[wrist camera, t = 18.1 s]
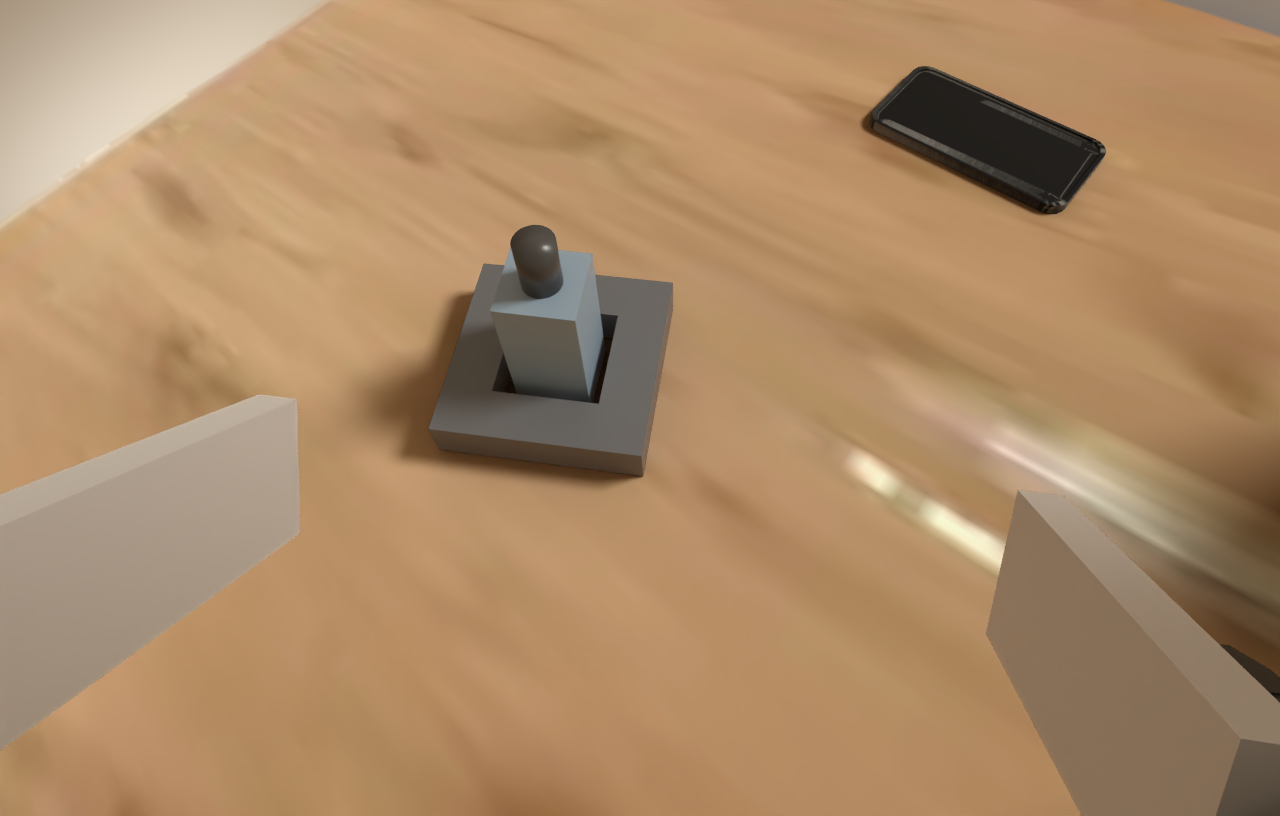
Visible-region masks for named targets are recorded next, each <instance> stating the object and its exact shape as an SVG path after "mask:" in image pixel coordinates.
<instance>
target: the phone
mask: <svg viewBox="0 0 1280 816" xmlns="http://www.w3.org/2000/svg"><path fill="white" fill-rule="evenodd" d="M870 125H871V127H872V128H873V130H875V131H876V132H878V133H880V134H882V135H884V136H886V137H888V138H890V139H892V140H894V141H896V142H899V143H901V144H903V145H905V146H907V147H909V148H911V149H913V150H915V151H917V152H919V153H921V154H923V155H925V156H927V157H929V158H931V159H934V160H936V161H938V162H940V163H942V164H944V165H946V166H948V167H950V168H952V169H954V170H956V171H958V172H960V173H962V174H964V175H966V176H969V177H971V178H973V179H975V180H977V181H979V182H981V183H983V184H985V185H987V186H989V187H991V188H993V189H995V190H997V191H999V192H1001V193H1004V194H1006V195H1008V196H1010V197H1012V198H1014V199H1016V200H1018V201H1020V202H1022V203H1024V204H1026V205H1028V206H1030V207H1032V208H1034V209H1036V210H1039V211H1041V212H1043V213H1047V214H1057V213H1059V212H1062V211H1063V210H1064V209H1065V208H1066V206H1067V205H1068V204H1069V203H1070V201H1071V200H1072V199H1073V197H1074V196H1075V195H1076V194H1077V192H1078V191H1079V190H1080V188H1081V187H1082V186H1083V185H1084V183H1085V182H1086V181H1087V179H1088V178H1089V177H1090V176H1091V174H1092V173H1093V172H1094V170H1095V169H1096V168H1097V167H1098V165H1099V164H1100V162H1101V161H1102V159H1103V157H1104V156H1105V153H1106V149H1105V147H1104V145H1103V144H1102V143H1101V142H1099V141H1097V140H1096V139H1094V138H1091V137H1089V136H1087V135H1084V134H1082V133H1080V132H1078V131H1075V130H1073V129H1071V128H1069V127H1066V126H1064V125H1062V124H1060V123H1057V122H1055V121H1053V120H1050V119H1048V118H1046V117H1044V116H1041V115H1039V114H1037V113H1035V112H1032V111H1030V110H1028V109H1026V108H1023V107H1021V106H1019V105H1017V104H1014V103H1012V102H1010V101H1008V100H1005V99H1003V98H1001V97H999V96H996V95H994V94H992V93H990V92H987V91H985V90H983V89H980V88H978V87H976V86H974V85H971V84H969V83H967V82H965V81H962V80H960V79H958V78H956V77H953V76H951V75H949V74H947V73H944V72H942V71H940V70H938V69H935V68H933V67H928V66H922V67H918V68H916V69H914V70H913V71H912V72H911V73H910V74H909V75H908V76H907V77H906V78H905V79H904V80H903V81H902V82H901V83H900V84H899V85H898V86H897V87H896V88H895V89H894V90H893V91H892V92H891V93H890V94H889V95H888V96H887V97H886V98H885V99H884V100H883V101H882V102H881V103H880V104H879V105H878V106H877V107H876V108H875V109H874V110H873V112H872V116H871V120H870Z"/></svg>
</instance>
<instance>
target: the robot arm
mask: <svg viewBox="0 0 1280 816" xmlns="http://www.w3.org/2000/svg"><path fill="white" fill-rule="evenodd" d="M299 534H300V509H299V469H298V429H297V399H292V398H284V397H276V396H268V395H260V394H259V395H256V396H253V397H251V398H248V399H246V400H243V401H241V402H238V403H235V404H233V405H230V406H228V407H225V408H222V409H220V410H217V411H215V412H212V413H210V414H207V415H204V416H202V417H199V418H197V419H194V420H191V421H189V422H186V423H184V424H181V425H179V426H176V427H173V428H171V429H168V430H166V431H163V432H160V433H158V434H155V435H153V436H150V437H148V438H145V439H142V440H140V441H137V442H135V443H132V444H129V445H127V446H124V447H122V448H119V449H117V450H114V451H111V452H109V453H106V454H104V455H101V456H98V457H96V458H93V459H91V460H88V461H86V462H83V463H80V464H78V465H75V466H73V467H70V468H67V469H65V470H62V471H60V472H57V473H55V474H52V475H49V476H47V477H44V478H42V479H39V480H36V481H34V482H31V483H29V484H26V485H23V486H21V487H18V488H16V489H13V490H11V491H8V492H5V493H3V494H0V750H2V749H3V748H5V747H6V746H7V745H9V744H10V743H12V742H13V741H14V740H16V739H17V738H18V737H20V736H21V735H23V734H24V733H25V732H27V731H28V730H29V729H31V728H32V727H34V726H35V725H36V724H38V723H39V722H40V721H42V720H43V719H45V718H46V717H47V716H49V715H50V714H52V713H53V712H54V711H56V710H57V709H58V708H60V707H61V706H63V705H64V704H65V703H67V702H68V701H69V700H71V699H72V698H74V697H75V696H76V695H78V694H79V693H81V692H82V691H83V690H85V689H86V688H87V687H89V686H90V685H92V684H93V683H94V682H96V681H97V680H98V679H100V678H101V677H103V676H104V675H105V674H107V673H108V672H109V671H111V670H112V669H114V668H115V667H116V666H118V665H119V664H121V663H122V662H123V661H125V660H126V659H127V658H129V657H130V656H132V655H133V654H134V653H136V652H137V651H138V650H140V649H141V648H143V647H144V646H145V645H147V644H148V643H150V642H151V641H152V640H154V639H155V638H156V637H158V636H159V635H161V634H162V633H163V632H165V631H166V630H167V629H169V628H170V627H172V626H173V625H174V624H176V623H177V622H178V621H180V620H181V619H183V618H184V617H185V616H187V615H188V614H190V613H191V612H192V611H194V610H195V609H196V608H198V607H199V606H201V605H202V604H203V603H205V602H206V601H207V600H209V599H210V598H212V597H213V596H214V595H216V594H217V593H218V592H220V591H221V590H223V589H224V588H225V587H227V586H228V585H230V584H231V583H232V582H234V581H235V580H236V579H238V578H239V577H241V576H242V575H243V574H245V573H246V572H247V571H249V570H250V569H252V568H253V567H254V566H256V565H257V564H259V563H260V562H261V561H263V560H264V559H265V558H267V557H268V556H270V555H271V554H272V553H274V552H275V551H276V550H278V549H279V548H281V547H282V546H283V545H285V544H286V543H287V542H289V541H290V540H292V539H293V538H294V537H296V536H297V535H299ZM986 635H987V637H988V638H989V640H990V642H991V644H992V646H993V648H994V650H995V652H996V654H997V656H998V657H999V659H1000V661H1001V663H1002V665H1003V667H1004V669H1005V671H1006V673H1007V675H1008V676H1009V678H1010V680H1011V682H1012V684H1013V686H1014V688H1015V690H1016V692H1017V694H1018V696H1019V697H1020V699H1021V701H1022V703H1023V705H1024V707H1025V709H1026V711H1027V713H1028V715H1029V716H1030V718H1031V720H1032V722H1033V724H1034V726H1035V728H1036V730H1037V732H1038V734H1039V736H1040V737H1041V739H1042V741H1043V743H1044V745H1045V747H1046V749H1047V751H1048V753H1049V755H1050V756H1051V758H1052V760H1053V762H1054V764H1055V766H1056V768H1057V770H1058V772H1059V774H1060V775H1061V777H1062V779H1063V781H1064V783H1065V785H1066V787H1067V789H1068V791H1069V793H1070V795H1071V796H1072V798H1073V800H1074V802H1075V804H1076V806H1077V808H1078V810H1079V812H1080V814H1081V815H1082V816H1280V678H1279V677H1278V676H1277V675H1276V674H1275V673H1274V672H1272V671H1271V670H1270V669H1268V668H1266V667H1265V666H1263V665H1261V664H1260V663H1258V662H1256V661H1255V660H1253V659H1251V658H1250V657H1248V656H1246V655H1245V654H1243V653H1241V652H1240V651H1238V650H1236V649H1235V648H1233V647H1231V646H1229V645H1222V644H1218V643H1217V642H1216V641H1215V640H1214V639H1213V638H1212V637H1211V636H1210V635H1209V634H1208V633H1207V632H1206V631H1205V630H1204V629H1203V628H1202V627H1201V626H1200V625H1199V624H1197V623H1196V622H1195V621H1194V620H1193V619H1192V618H1191V617H1190V616H1189V615H1188V614H1187V613H1186V612H1185V611H1184V610H1183V609H1182V608H1181V607H1180V606H1179V605H1178V604H1177V603H1176V602H1175V601H1174V600H1173V599H1172V598H1170V597H1169V596H1168V595H1167V594H1166V593H1165V592H1164V591H1163V590H1162V589H1161V588H1160V587H1159V586H1158V585H1157V584H1156V583H1155V582H1154V581H1153V580H1152V579H1151V578H1150V577H1149V576H1148V575H1147V574H1146V573H1145V572H1143V571H1142V570H1141V569H1140V568H1139V567H1138V566H1137V565H1136V564H1135V563H1134V562H1133V561H1132V560H1131V559H1130V558H1129V557H1128V556H1127V555H1126V554H1125V553H1124V552H1123V551H1122V550H1121V549H1120V548H1119V547H1118V546H1116V545H1115V544H1114V543H1113V542H1112V541H1111V540H1110V539H1109V538H1108V537H1107V536H1106V535H1105V534H1104V533H1103V532H1102V531H1101V530H1100V529H1099V528H1098V527H1097V526H1096V525H1095V524H1094V523H1093V522H1092V521H1091V520H1089V519H1088V518H1087V517H1086V516H1085V515H1084V514H1083V513H1082V512H1081V511H1080V510H1079V509H1078V508H1077V507H1076V506H1075V505H1074V504H1073V503H1072V502H1071V501H1070V500H1069V499H1068V498H1067V497H1066V496H1062V495H1055V494H1047V493H1039V492H1031V491H1023V490H1018V492H1017V496H1016V501H1015V505H1014V510H1013V514H1012V519H1011V523H1010V528H1009V532H1008V537H1007V541H1006V546H1005V550H1004V555H1003V559H1002V564H1001V568H1000V573H999V577H998V582H997V586H996V591H995V595H994V600H993V604H992V609H991V613H990V618H989V622H988V627H987V631H986Z"/></svg>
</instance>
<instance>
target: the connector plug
mask: <svg viewBox="0 0 1280 816" xmlns="http://www.w3.org/2000/svg"><path fill="white" fill-rule="evenodd" d="M510 245H511V248H510V251H509V254H508V257H507V260H506V263H505V266H504V269H503V272H502V275H501V278H500V282H499V285H498V288H497V291H496V294H495V297H494V300H493V303H492V306H491V309H490V313H491V316H492V319H493V322H494V325H495V328H496V331H497V335H498V338H499V341H500V344H501V347H502V350H503V353H504V356H505V359H506V362H507V365H508V368H509V371H510V374H511V377H512V380H513V383H514V386H515V390H516V393H517V394H521V395H529V396H538V397H546V398H554V399H563V400H571V401H579V402H587V403H594V399H595V394H596V390H597V386H598V381H599V377H600V372H601V368H602V364H603V359H604V355H605V345H604V337H603V330H602V322H601V315H600V307H599V300H598V292H597V285H596V277H595V270H594V262H593V255H592V254H590V253H580V252H571V251H561V250H558V248H557V242H556V237H555V235H554V233H553V232H552V231H551V230H550V229H549V228H547V227H544V226H541V225H530V226H526V227H524V228H521V229H520V230H518V231H517V232H516V233H515V234H514V235H513V237H512V239H511V244H510Z"/></svg>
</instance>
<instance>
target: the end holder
mask: <svg viewBox="0 0 1280 816" xmlns="http://www.w3.org/2000/svg"><path fill="white" fill-rule="evenodd" d="M503 269H504V265H494V264H483V267H482V270H481V273H480V276H479V279H478V282H477V285H476V288H475V291H474V294H473V297H472V300H471V303H470V306H469V309H468V312H467V315H466V318H465V321H464V324H463V327H462V330H461V333H460V336H459V339H458V342H457V345H456V348H455V351H454V354H453V357H452V360H451V363H450V366H449V369H448V372H447V375H446V378H445V381H444V384H443V387H442V390H441V393H440V396H439V399H438V402H437V405H436V407H435V410H434V413H433V416H432V419H431V422H430V425H429V428H428V429H429V431H430V433H431V435H432V437H433V438H434V440H435V442H436V444H437V446H438V447H439V449H440V450H446V451H453V452H461V453H469V454H476V455H484V456H492V457H499V458H507V459H515V460H522V461H530V462H538V463H545V464H553V465H561V466H568V467H576V468H584V469H591V470H599V471H606V472H614V473H622V474H629V475H637V476H643V475H644V469H645V463H646V458H647V452H648V446H649V441H650V435H651V429H652V424H653V418H654V412H655V407H656V401H657V396H658V390H659V384H660V379H661V373H662V367H663V362H664V356H665V350H666V345H667V339H668V334H669V328H670V322H671V317H672V311H673V283H670V282H660V281H650V280H641V279H631V278H621V277H611V276H602V275H595V277H596V285H597V292H598V300H599V307H600V315H601V322H602V330H603V337H604V338H609V339H613V341H612V345H611V350H610V355H609V359H608V364H607V368H606V373H605V378H604V382H603V387H602V391H601V396H600V400H599V404H596V403H587V402H579V401H571V400H563V399H554V398H546V397H538V396H529V395H521V394H513V393H506V391H507V387H508V384H509V380H510V377H511V374H510V371H509V368H508V365H507V362H506V359H505V356H504V353H503V350H502V347H501V344H500V341H499V338H498V335H497V331H496V328H495V325H494V322H493V319H492V316H491V313H490V309H491V306H492V303H493V300H494V297H495V294H496V291H497V288H498V285H499V282H500V278H501V275H502V272H503Z"/></svg>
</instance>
